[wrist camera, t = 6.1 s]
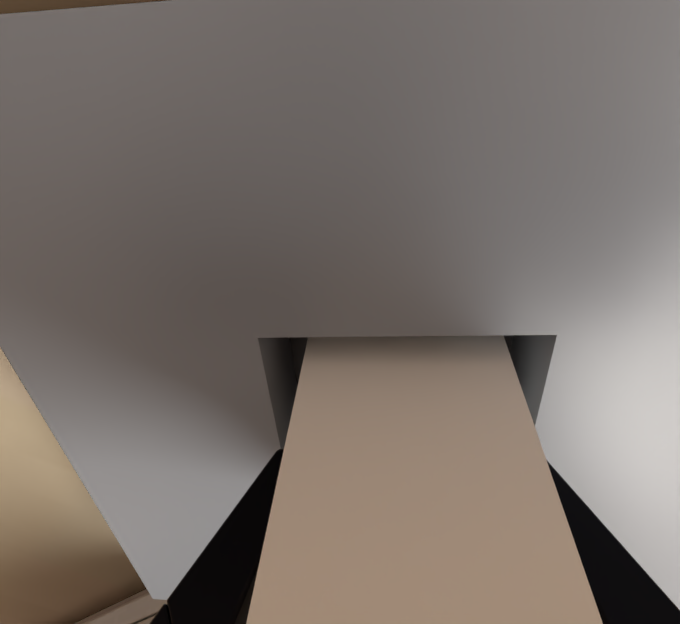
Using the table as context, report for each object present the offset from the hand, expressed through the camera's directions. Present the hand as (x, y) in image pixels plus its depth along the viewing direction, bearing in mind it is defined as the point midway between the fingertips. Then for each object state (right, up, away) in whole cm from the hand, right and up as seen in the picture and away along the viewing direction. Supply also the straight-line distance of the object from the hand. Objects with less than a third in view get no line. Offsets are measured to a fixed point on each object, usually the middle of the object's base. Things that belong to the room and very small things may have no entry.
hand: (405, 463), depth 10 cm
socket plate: (0, +2, +3) cm, 3 cm away
